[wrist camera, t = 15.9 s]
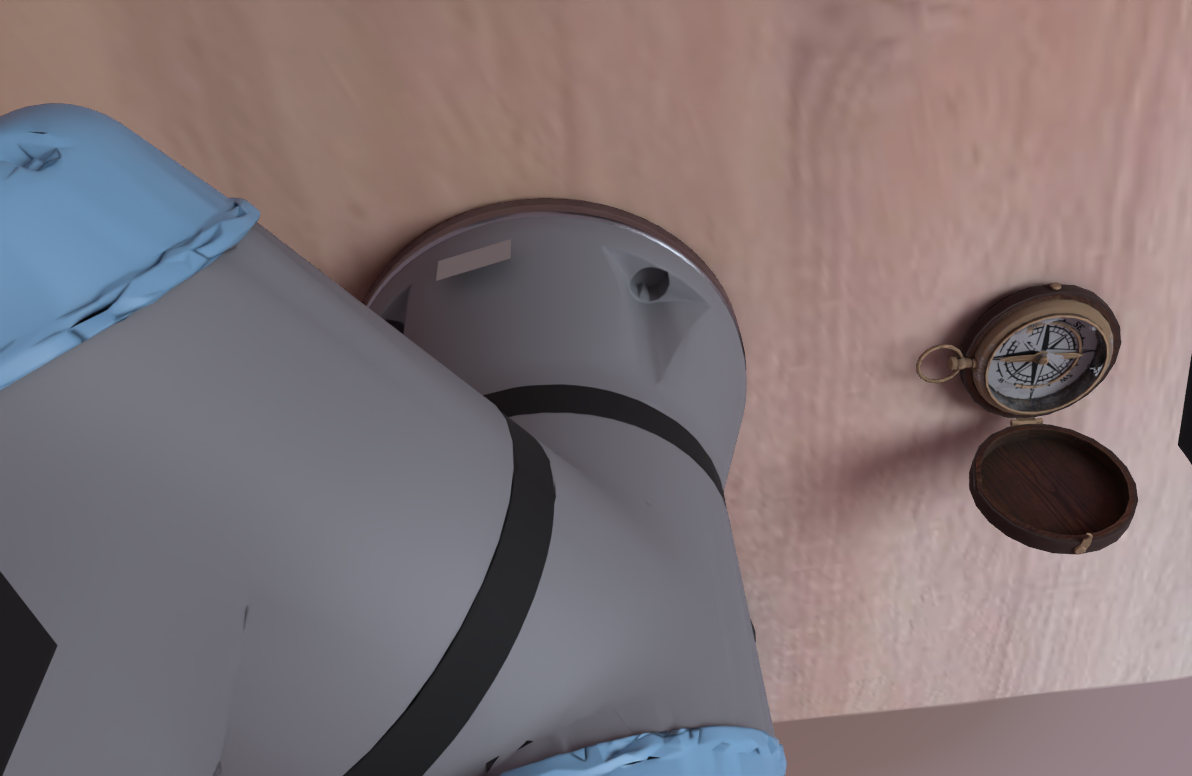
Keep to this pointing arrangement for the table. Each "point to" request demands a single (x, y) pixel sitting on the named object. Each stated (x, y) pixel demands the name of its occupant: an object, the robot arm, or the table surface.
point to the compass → (1029, 448)
